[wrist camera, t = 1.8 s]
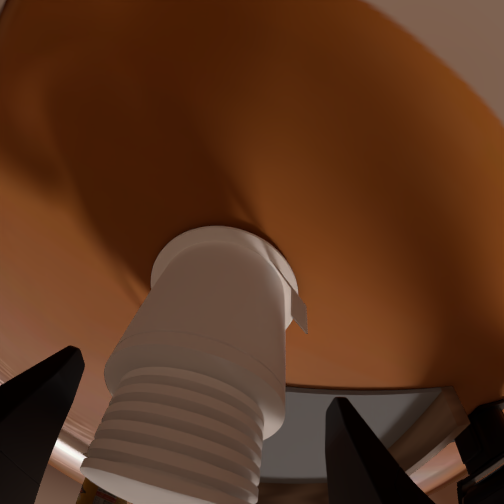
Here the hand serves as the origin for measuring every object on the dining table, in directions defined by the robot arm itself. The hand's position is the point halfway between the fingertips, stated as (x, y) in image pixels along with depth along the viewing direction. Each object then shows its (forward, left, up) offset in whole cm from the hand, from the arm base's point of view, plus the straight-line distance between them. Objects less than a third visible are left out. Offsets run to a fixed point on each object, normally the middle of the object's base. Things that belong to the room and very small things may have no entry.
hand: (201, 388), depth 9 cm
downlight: (0, 0, -6) cm, 6 cm away
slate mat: (-8, +15, -6) cm, 18 cm away
